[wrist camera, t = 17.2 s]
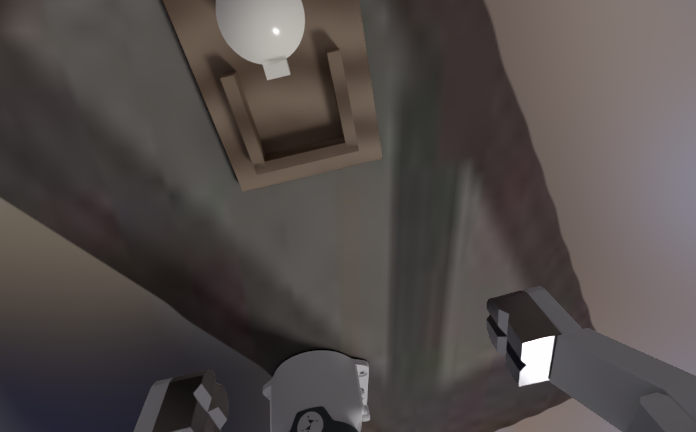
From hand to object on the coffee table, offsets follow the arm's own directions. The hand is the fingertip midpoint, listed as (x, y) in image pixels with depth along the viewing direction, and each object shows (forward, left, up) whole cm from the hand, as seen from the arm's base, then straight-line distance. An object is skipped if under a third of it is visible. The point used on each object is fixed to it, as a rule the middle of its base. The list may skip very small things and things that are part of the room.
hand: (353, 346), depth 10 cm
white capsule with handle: (+9, +2, -29) cm, 30 cm away
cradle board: (+2, +2, -30) cm, 30 cm away
